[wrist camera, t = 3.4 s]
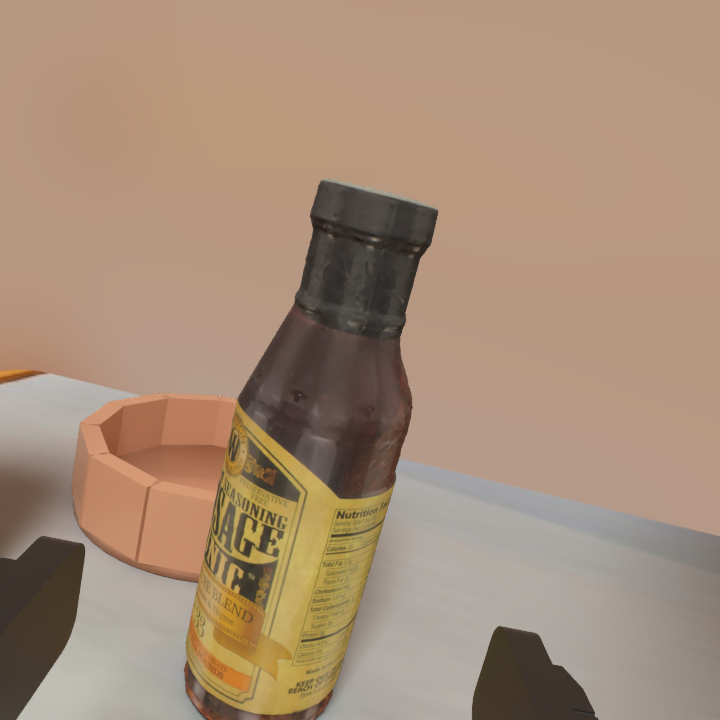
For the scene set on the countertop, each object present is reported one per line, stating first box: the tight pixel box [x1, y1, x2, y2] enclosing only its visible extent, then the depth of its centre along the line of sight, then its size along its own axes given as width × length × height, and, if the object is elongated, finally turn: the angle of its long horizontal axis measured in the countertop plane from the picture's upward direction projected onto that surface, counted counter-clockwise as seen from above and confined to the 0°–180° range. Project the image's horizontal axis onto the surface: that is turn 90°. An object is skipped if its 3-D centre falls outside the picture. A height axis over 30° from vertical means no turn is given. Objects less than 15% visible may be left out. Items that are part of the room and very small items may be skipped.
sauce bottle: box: [184, 179, 438, 720], centre depth 22 cm, size 6×6×20 cm
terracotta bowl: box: [71, 393, 237, 582], centre depth 37 cm, size 16×16×4 cm
